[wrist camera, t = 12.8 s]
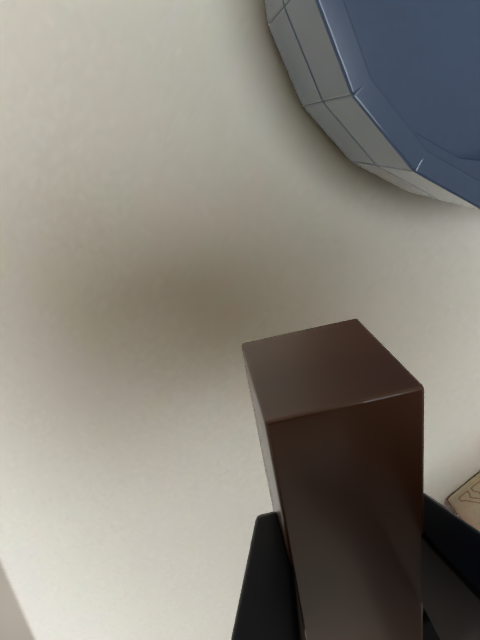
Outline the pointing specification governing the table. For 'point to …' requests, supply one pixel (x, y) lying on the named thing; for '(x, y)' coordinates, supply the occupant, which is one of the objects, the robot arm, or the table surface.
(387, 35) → the bowl
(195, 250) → the table surface
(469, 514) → the stack of blocks
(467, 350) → the table surface
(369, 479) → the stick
